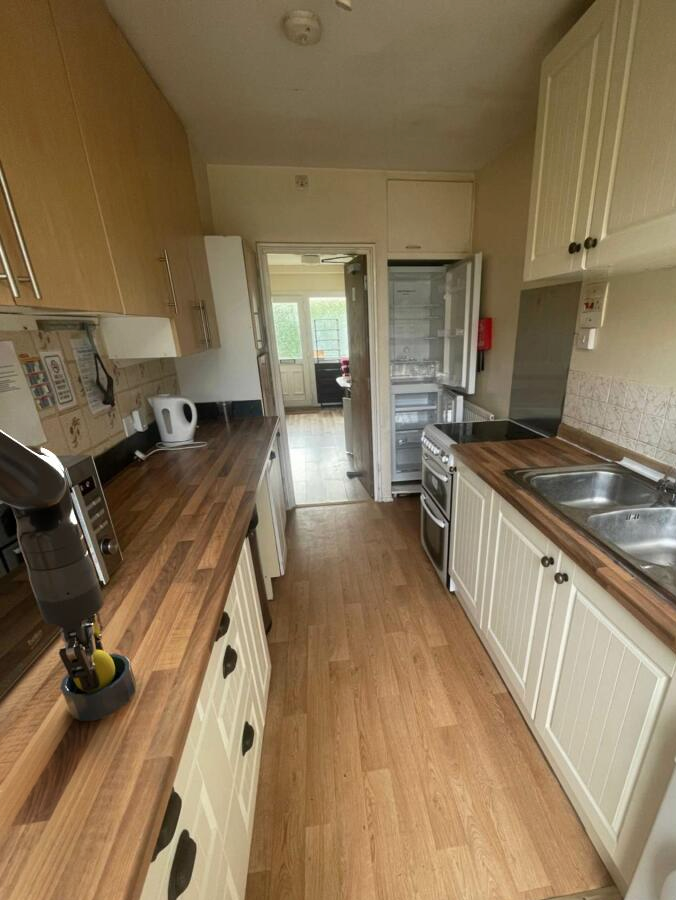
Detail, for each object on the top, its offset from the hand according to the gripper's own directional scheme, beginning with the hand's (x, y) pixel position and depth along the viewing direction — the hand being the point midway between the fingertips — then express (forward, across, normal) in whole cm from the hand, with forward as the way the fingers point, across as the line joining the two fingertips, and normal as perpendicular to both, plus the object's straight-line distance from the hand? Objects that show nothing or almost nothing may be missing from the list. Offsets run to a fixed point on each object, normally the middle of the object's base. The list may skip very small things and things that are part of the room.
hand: (95, 673), depth 69 cm
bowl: (+6, 0, 0) cm, 6 cm away
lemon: (+4, 0, 0) cm, 4 cm away
